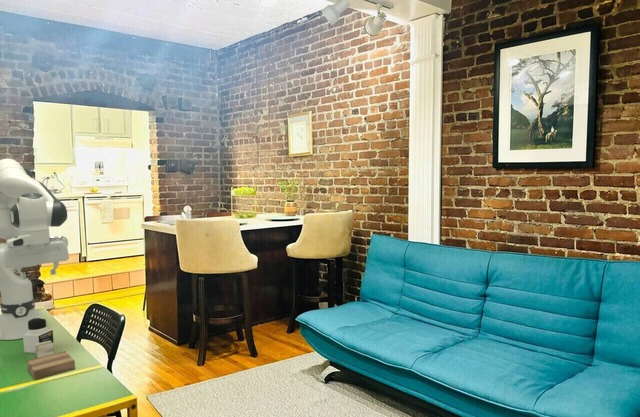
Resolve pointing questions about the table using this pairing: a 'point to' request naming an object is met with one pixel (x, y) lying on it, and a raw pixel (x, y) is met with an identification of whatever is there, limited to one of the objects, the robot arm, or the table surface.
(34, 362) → the walnut base
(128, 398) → the table surface
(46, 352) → the ash cube
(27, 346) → the medicine bottle
